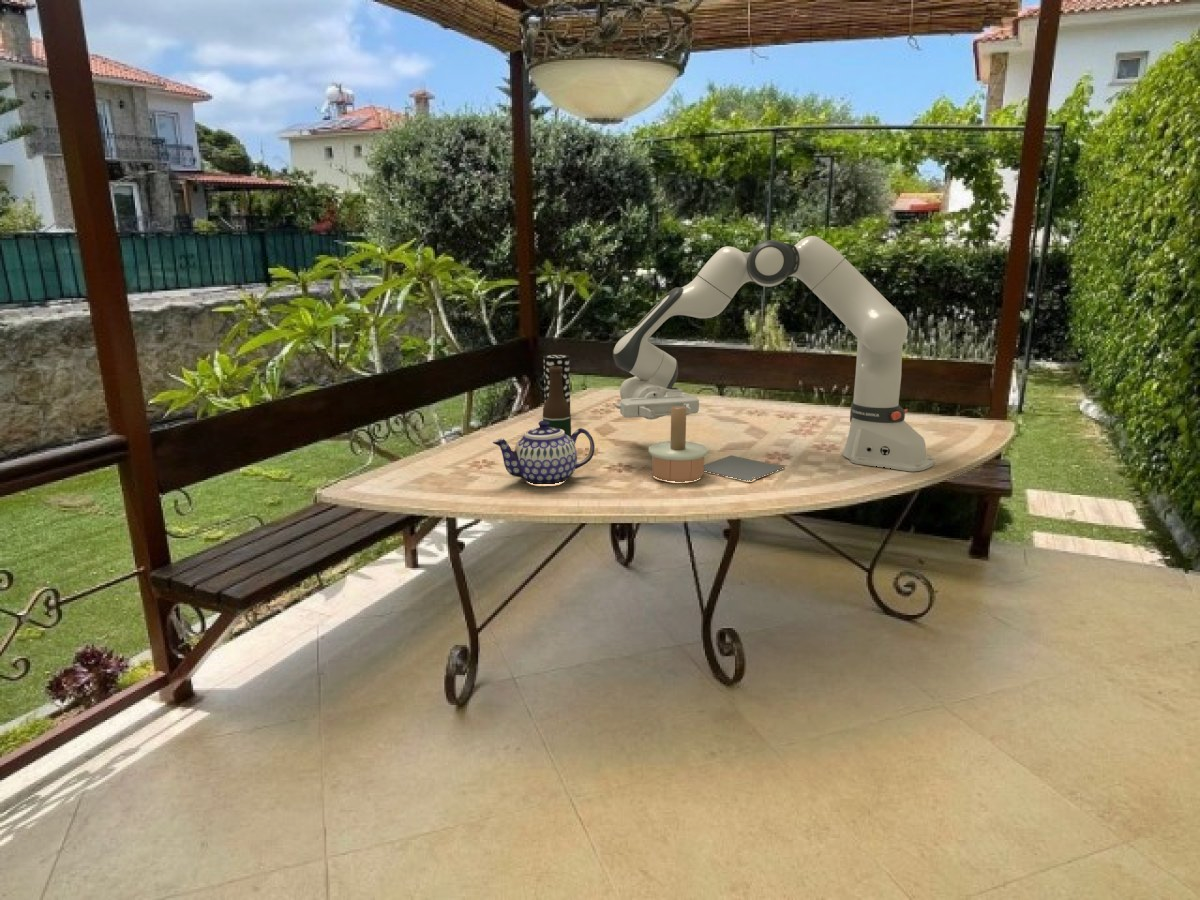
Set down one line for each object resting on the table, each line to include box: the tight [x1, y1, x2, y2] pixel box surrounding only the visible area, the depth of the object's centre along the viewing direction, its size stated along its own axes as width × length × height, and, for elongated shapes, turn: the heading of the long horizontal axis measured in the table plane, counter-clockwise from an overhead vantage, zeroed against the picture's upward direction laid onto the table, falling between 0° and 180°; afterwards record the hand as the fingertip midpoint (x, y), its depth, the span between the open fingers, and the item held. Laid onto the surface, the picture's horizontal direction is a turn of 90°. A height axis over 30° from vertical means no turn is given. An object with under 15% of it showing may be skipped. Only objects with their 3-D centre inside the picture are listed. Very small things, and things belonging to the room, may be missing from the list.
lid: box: [648, 406, 708, 460], centre depth 178 cm, size 14×14×11 cm
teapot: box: [492, 419, 595, 484], centre depth 176 cm, size 25×15×15 cm, turn 109°
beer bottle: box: [542, 366, 572, 436], centre depth 196 cm, size 8×8×24 cm
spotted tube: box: [542, 354, 571, 409], centre depth 242 cm, size 8×8×20 cm
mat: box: [704, 455, 786, 481], centre depth 186 cm, size 16×16×1 cm
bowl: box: [651, 455, 705, 482], centre depth 180 cm, size 12×12×6 cm
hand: (670, 412), depth 182 cm, fingers open, 8 cm apart
